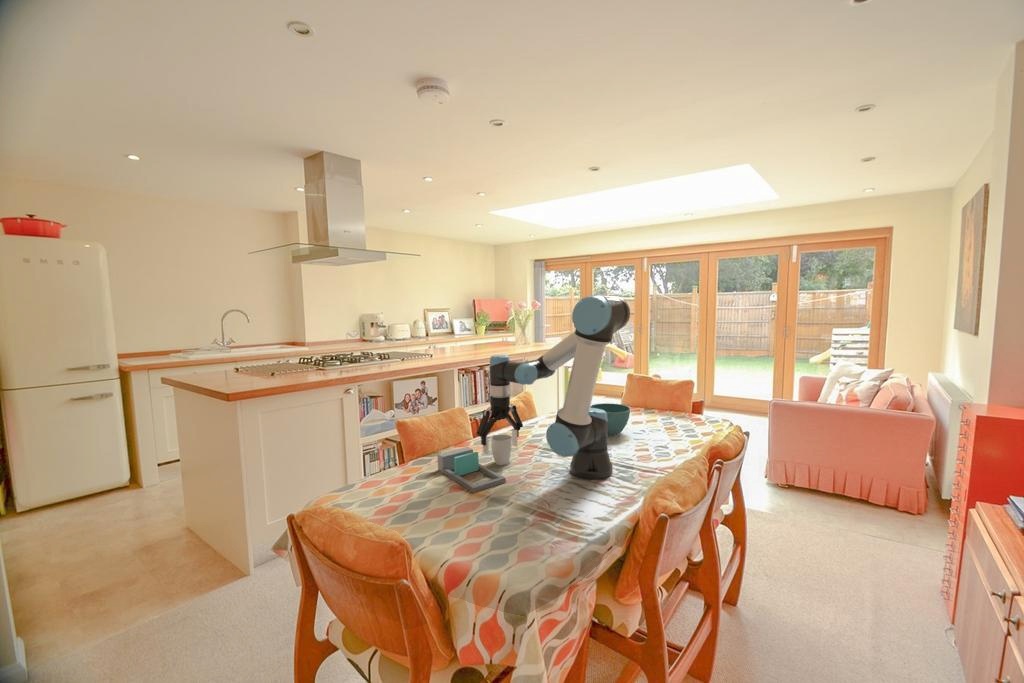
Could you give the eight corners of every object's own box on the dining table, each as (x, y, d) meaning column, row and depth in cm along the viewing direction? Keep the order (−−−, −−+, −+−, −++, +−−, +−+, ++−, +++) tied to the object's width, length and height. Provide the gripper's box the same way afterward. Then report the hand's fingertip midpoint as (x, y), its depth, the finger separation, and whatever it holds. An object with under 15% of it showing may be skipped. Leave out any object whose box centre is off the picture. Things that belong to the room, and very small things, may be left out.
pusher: (478, 470, 161) (478, 452, 161) (456, 476, 156) (455, 458, 155) (472, 466, 165) (471, 449, 164) (450, 472, 159) (449, 454, 159)
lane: (505, 482, 150) (505, 465, 150) (473, 492, 143) (473, 474, 142) (468, 461, 171) (467, 446, 170) (438, 469, 163) (437, 454, 163)
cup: (515, 460, 171) (515, 435, 170) (506, 467, 163) (506, 441, 163) (497, 457, 174) (496, 433, 173) (487, 464, 167) (486, 439, 166)
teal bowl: (599, 425, 215) (599, 401, 214) (635, 431, 205) (635, 405, 204) (583, 435, 201) (583, 409, 199) (621, 442, 190) (621, 414, 189)
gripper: (519, 389, 177) (520, 440, 179) (466, 398, 162) (467, 453, 164) (531, 392, 171) (531, 445, 173) (477, 402, 156) (478, 459, 158)
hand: (500, 449), depth 169 cm, fingers open, 13 cm apart
